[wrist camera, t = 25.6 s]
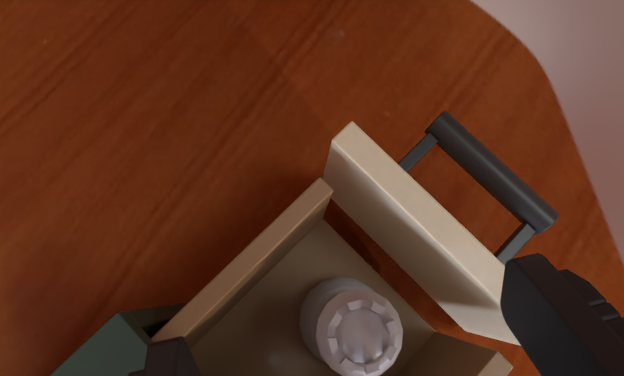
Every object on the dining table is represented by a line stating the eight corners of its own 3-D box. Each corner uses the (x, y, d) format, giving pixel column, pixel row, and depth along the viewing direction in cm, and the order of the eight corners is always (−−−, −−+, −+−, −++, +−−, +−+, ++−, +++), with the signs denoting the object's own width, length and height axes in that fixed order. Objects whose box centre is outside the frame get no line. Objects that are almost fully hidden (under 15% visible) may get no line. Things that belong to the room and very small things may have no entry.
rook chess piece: (336, 259, 24) (355, 246, 17) (400, 316, 24) (451, 329, 16) (281, 324, 24) (274, 342, 16) (346, 384, 23) (371, 433, 15)
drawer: (388, 121, 27) (430, 45, 19) (532, 256, 26) (649, 240, 17) (158, 344, 24) (81, 375, 16) (307, 511, 23) (313, 647, 14)
